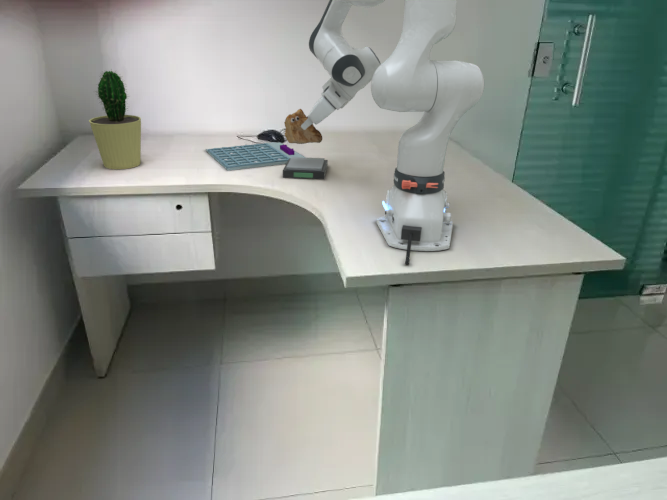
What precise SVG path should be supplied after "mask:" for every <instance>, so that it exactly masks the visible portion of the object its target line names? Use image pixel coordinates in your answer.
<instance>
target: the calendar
mask: <svg viewBox="0 0 667 500" xmlns="http://www.w3.org/2000/svg"><path fill="white" fill-rule="evenodd" d="M205 151H206V152H207V153H208V154H209V155H210V156H211V157H212V158H213V159H214V160H215V161H216V162H217V163H219V164H220V165H221V166H222V168H224V169H225V170H226V171H235V170H245V169H252V168H253V169H254V168H262V167H269V166H270V167H271V166H277V165H278V166H279V165H286V163H287V161H288V160H289V158H291V157H305V155H302V154H301V153H299V152H298V151H296V150H294V148H291V147H289V146H288V144H284V143H283V142H280V141H278V142H275V141H271V142H264V143H254V144H244V145H234V146H222V147H213V148H205Z"/></svg>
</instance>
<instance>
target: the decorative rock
mask: <svg viewBox="0 0 667 500" xmlns="http://www.w3.org/2000/svg"><path fill="white" fill-rule="evenodd" d="M307 119H308V118H307V115H306V114H305V112H304V110H303V109H302V108H299V109H297V110H296V111H295V112H293V113H292V114H291V113H290V114H288V115H287V116H286V117H285V120H284V127H285V130H284V137H285V138H286V140H287V142H288V143H289V144H297V145H304V144H310V143H311V144H313V143H315V144H320V143H322V141H323V135H322V133H321V131H320V130H318V129H316V128H317V127H315V126H314V125H315V124H314V123H313V124H312V125H310V126H309V127H308V128H307V129H306V130H303V128H302V127H301V125H302V124H303V123H304V122H305V121H306V120H307Z"/></svg>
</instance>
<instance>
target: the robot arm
mask: <svg viewBox="0 0 667 500" xmlns="http://www.w3.org/2000/svg"><path fill="white" fill-rule="evenodd" d="M385 1H386V0H329V1H328V3H327V5H326V8H325V9H324V12H323V14H322V16H321V18H320V20H319V22H318V24H317V25H316V27H315V28H314V29H313V30H312V32H311V34H310V35H309V36H310V37H309V40H308V49H309V51H310V53H311V54H312V55H313V56H314V57H315V58H316V59H317V60H318V62H319V63H320V64H321V66H322V67H323V68H324V70H325V71H326V72H327V74H328V75H329V76H330V78H329V79H328V80H327V81H326V82H325V83H324V84H323V85H322V87H321V88H322V92H321V93H320V94H321V95H320V96H321V97H320V98H319V99H318V100H317V101H316V102H315V103H314V104H313V106H312V108H311V110H310V112H309V113H308V115H306V117H307V118H308V119H307V120H306V121H305V122H304V123H303V124H302V125H301V127H302V128H303V130H306V129H307V128H308V127H309V126H310V125H312V124H313V125H318V124H320V123H322V122H323V121H324V120H325V119H326V118H328V117H329V116H330V115H331V114H332V113H334V112H335V111H336V110H337V111H339V110H340V109H343V108H344V107H345V106H347V105H348V104H349V103H350V101H352V100H353V99H354V98H355V96H356V94H358V92H359V91H361V90H362V89H364V88H365V87H366V86H367V85H368V84H369V83H370V93H371V96H372V98H373V101H374V102H375V104H376V105H377V107H378V108H379V109H382V110H386V111H391V112H399V113H418V112H419V113H421V112H423V114H422V116H421V118H420V120H419V121H417V123H415V124H414V125H413V126H411V127H408V128H407V129H406V130H405V131H403V133H402V134H401V135H400V137H399V139H398V146H397V160H396V167H395V168H394V173H393V185H392V187H390V188H389V189H388V190H386V197H385V201H384V200H382V206H383V208H384V216H380V217H378V218H377V219H376V225H377V226H378V228H379V230H380V232H381V234H382V236H383V238H384V240H385V242H386V244H387V245H388V246H389V247H391V248H395V249H400V250H406V255H405V261H404V264H405V265H409V263H410V257H411V251H416V252H417V251H419V252H438V251H445V250H448V249H450V247H451V240H452V235H453V233H452V232H453V225H454V223H453V221H451V220H452V212H446V210H447V209H450V202H447V201H448V193H447V191H445V190H444V188H445V180H446V177H445V176H446V175H445V174H446V173H445V170H444V167H445V160H446V155H447V148H448V143H449V140H450V137H451V135H452V133H453V131H454V129H455V127H456V125H457V124H458V122H459V121H460V120H461V119H462V117H463V116H465V115H466V114H467V112H468V111H469V110H471V109H472V108H474V107H475V106H476V105H477V104H478V103H479V102H480V100H481V99H482V96H483V94H484V90H485V77H484V73H483V72H482V70H481V69H480V67H479V66H478V65H477V64H476V63H475V64H474V63H470V62H467V61H463V60H458V59H456V60H455V59H453V60H452V59H451V60H449V59H430V58H431V57H430V55H431V52H432V49H433V47H434V46H435V45H436V44H438V43H440V42H442V41H444V40H445V39H447V38H449V36H451V34H452V33H453V31H454V29H455V27H456V24H457V7H458V6H457V5H458V0H404V7H403V8H404V9H403V21H402V30H401V34H400V37H399V40H398V42H397V44H396V47H395V48H394V49H393V51H392V53H391V54H390V55H389V56H388V57H387V58H386V60H384V61H383V62H382V63H381V61H380V59H379V57H378V56H377V54H376V53H375V52H374V50H373V49H372V47H369V46H368V45H367V46H365V47H362V48H358V47H354V46H352V45H351V44H350V43H349V41H348V40H347V39H346V38H345V36H344V34H343V30H342V26H343V24H344V21H345V19H346V17H347V16H348V14H349V12H350V10H351V7H352V6H356V7H358V8H363V9H366V8H367V9H372V8H376V7H377V6H380V5H381V4H383V3H384V2H385Z"/></svg>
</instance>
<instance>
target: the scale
mask: <svg viewBox="0 0 667 500" xmlns="http://www.w3.org/2000/svg"><path fill="white" fill-rule="evenodd" d="M328 163H329V161H328V159H325V158H324V157H306V156H304V157H291V158H289V160H288V161H287V163H286V164H284V167H283V169H282V178H284V179H304V180H305V179H307V180H325V177H326V174H327V170H328V166H329V164H328Z"/></svg>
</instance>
